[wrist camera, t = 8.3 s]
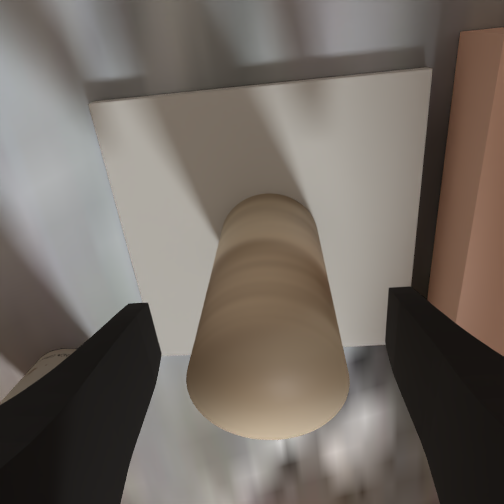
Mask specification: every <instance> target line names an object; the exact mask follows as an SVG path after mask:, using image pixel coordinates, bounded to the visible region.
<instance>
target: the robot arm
mask: <svg viewBox="0 0 504 504" xmlns="http://www.w3.org/2000/svg"><path fill="white" fill-rule="evenodd" d="M385 344H386V348H387V352H388V356H389V360H390V364H391V367H392V371H393V374H394V377H395V379H396V382H397V384H398V387H399V389H400V392H401V394H402V397H403V399H404V401H405V404H406V406H407V409H408V411H409V414H410V416H411V418H412V421H413V423H414V426H415V428H416V431H417V433H418V436H419V438H420V440H421V443H422V446H423V449H424V451H425V454H426V457H427V460H428V464H429V467H430V470H431V474H432V477H433V480H434V484H435V487H436V491H437V494H438V498H439V501H440V504H504V356H502V355H501V354H499V353H498V352H496V351H495V350H493V349H491V348H490V347H489V346H487V345H486V344H484V343H483V342H481V341H480V340H478V339H477V338H475V337H474V336H473V335H471V334H470V333H468V332H467V331H466V330H464V329H463V328H462V327H460V326H459V325H458V324H456V323H455V322H454V321H452V320H451V319H450V318H449V317H447V316H446V315H445V314H444V313H442V312H441V311H440V310H439V309H437V308H436V307H435V306H434V305H432V304H431V303H430V302H429V301H428V300H426V299H425V298H424V297H423V296H422V295H420V294H419V293H418V292H417V291H416V290H414V289H413V288H412V287H410V286H407V287H391V288H389V291H388V306H387V320H386V335H385ZM161 355H162V353H161V349H160V345H159V342H158V338H157V334H156V331H155V327H154V323H153V319H152V316H151V312H150V308H149V304H148V303H132V304H128V305H127V306H125V307H124V308H123V309H122V310H121V311H119V312H118V313H117V314H116V315H115V316H114V317H113V318H112V319H111V320H110V321H108V322H107V323H106V324H105V325H104V326H103V327H102V328H101V329H100V330H99V331H97V332H96V333H95V334H94V335H93V336H92V337H91V338H90V339H88V340H87V341H86V342H85V343H84V344H83V345H82V346H81V347H79V348H78V349H77V350H76V351H74V352H73V353H72V354H71V355H70V356H68V357H67V358H66V359H65V360H63V361H62V362H61V363H60V364H59V365H57V366H56V367H55V368H54V369H52V370H51V371H50V372H48V373H47V374H46V375H44V376H43V377H42V378H40V379H39V380H37V381H36V382H35V383H33V384H32V385H30V386H29V387H27V388H26V389H25V390H23V391H22V392H20V393H19V394H17V395H16V396H14V397H12V398H11V399H9V400H7V401H6V402H4V403H2V404H1V405H0V504H120V503H121V498H122V494H123V490H124V485H125V481H126V476H127V472H128V468H129V464H130V461H131V457H132V454H133V451H134V448H135V445H136V442H137V439H138V436H139V433H140V430H141V427H142V424H143V421H144V418H145V415H146V412H147V409H148V406H149V403H150V400H151V397H152V394H153V391H154V388H155V385H156V381H157V376H158V371H159V366H160V360H161Z"/></svg>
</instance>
